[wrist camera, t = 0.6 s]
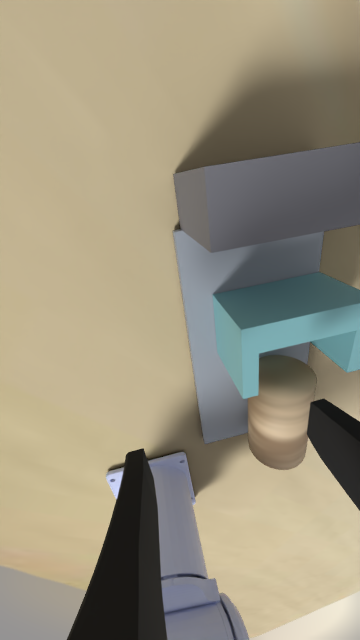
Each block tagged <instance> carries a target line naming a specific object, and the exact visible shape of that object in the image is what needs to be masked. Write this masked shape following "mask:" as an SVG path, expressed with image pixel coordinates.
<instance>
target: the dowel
mask: <svg viewBox="0 0 360 640" xmlns="http://www.w3.org/2000/svg"><path fill="white" fill-rule="evenodd" d="M316 383H317V378H316V375H315V373H314V371H313V370H312V369H311V368H310V367H309V366H308V365H307V364H305V363H304V362H302V361H300V360H298V359H295V358H293V357H289V356H283V355H269V356H264V357H261V358H259V392H258V396H254V397H250V398H248V442H249V447H250V450H251V452H252V453H253V455H254V456H255V457H256V458H257V459H258V460H259V461H260V462H261V463H263V464H264V465H266V466H268V467H271V468H274V469H279V470H288V469H292V468H294V467H296V466H298V465H299V464H300V463H301V462H302V461H303V459H304V457H305V453H306V447H307V441H308V436H307V427H308V419H309V411H310V403H311V402H313V401H314V396H315V390H316Z"/></svg>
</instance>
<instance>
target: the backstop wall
mask: <svg viewBox="0 0 360 640" xmlns="http://www.w3.org/2000/svg"><path fill="white" fill-rule="evenodd" d="M173 177H174V184H175V192H176V199H177V207H178V214H179V222H180V229H181V230H182V231H184V232H185V233H186V234H187V235H189V236H190V237H191V238H192V239H194V240H195V241H196V242H198V243H199V244H200V245H201V246H203V247H204V248H205V249H206V250H208V251H209V252H210V253H215V252H220V251H225V250H230V249H235V248H241V247H246V246H251V245H256V244H261V243H267V242H272V241H277V240H282V239H287V238H293V237H298V236H303V235H308V234H313V233H319V232H324V231H329V230H334V229H339V228H345V227H350V226H355V225H360V142H359V143H353V144H346V145H340V146H334V147H327V148H321V149H314V150H308V151H302V152H295V153H289V154H283V155H276V156H270V157H264V158H257V159H251V160H245V161H238V162H232V163H225V164H219V165H213V166H206V167H201V168H197V169H193V170H188V171H184V172H180V173H175V174H173Z"/></svg>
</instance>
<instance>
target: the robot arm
mask: <svg viewBox="0 0 360 640" xmlns="http://www.w3.org/2000/svg"><path fill="white" fill-rule="evenodd" d="M307 436H308V437H309V439H310V441H311V443H312V444H313V446H314V448H315V449H316V451H317V453H318V454H319V456H320V458H321V459H322V460H323V462H324V463H325V465H326V466H327V467H328V469H329V470H330V471H331V473H332V474H333V475H334V477H335V478H336V480H337V481H338V482H339V484H340V485H341V486H342V488H343V489H344V490H345V492H346V493H347V494H348V496H349V497H350V498H351V500H352V501H353V502H354V504H355V505H356V506H357V508H358V509H359V510H360V422H359V421H358V420H356V419H355V418H353V417H352V416H350V415H348V414H347V413H345V412H344V411H342V410H341V409H339V408H338V407H336V406H335V405H333V404H332V403H330V402H328V401H327V400H325V399H320V400H317V401H313V402H311V403H310V411H309V419H308V427H307ZM106 479H107V481H108V483H109V485H110V487H111V490H112V492H113V494H114V496H115V498H116V504H115V507H114V511H113V515H112V518H111V522H110V525H109V528H108V531H107V534H106V537H105V541H104V544H103V547H102V550H101V553H100V556H99V559H98V562H97V565H96V567H95V570H94V573H93V576H92V578H91V581H90V584H89V586H88V589H87V592H86V594H85V597H84V599H83V602H82V604H81V607H80V609H79V612H78V614H77V617H76V619H75V621H74V624H73V626H72V629H71V631H70V634H69V636H68V638H67V640H249V637H248V633H247V630H246V628H245V625H244V622H243V620H242V617H241V615H240V613H239V611H238V610H237V608H236V606H235V605H234V604H233V603H232V602H231V600H230V599H229V597H228V596H227V595H226V594H224V593H219V591H218V587H217V583H216V579H215V578H214V579H208V575H207V570H206V565H205V561H204V556H203V551H202V547H201V542H200V537H199V533H198V528H197V523H196V519H195V514H194V509H193V505H194V504H195V502H196V501H195V496H194V491H193V487H192V482H191V477H190V472H189V467H188V462H187V458H186V454H185V453H184V452H179V453H175V454H171V455H168V456H164V457H160V458H156V459H153V460H149V461H148V460H147V457H146V454H145V452H144V449H139V450H135V451H132V452H128V453H127V455H126V459H125V465H124V467H123V468H119V469H115V470H112V471H109V472H107V474H106Z"/></svg>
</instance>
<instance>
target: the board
mask: <svg viewBox="0 0 360 640" xmlns="http://www.w3.org/2000/svg"><path fill="white" fill-rule="evenodd" d="M323 236H324V232H319V233H313V234H308V235H303V236H298V237H293V238H287V239H282V240H277V241H272V242H267V243H261V244H256V245H251V246H246V247H241V248H235V249H230V250H225V251H220V252H215V253H210V252H209V251H208V250H206V249H205V248H204V247H203V246H201V245H200V244H199V243H198V242H196V241H195V240H194V239H192V238H191V237H190V236H189V235H187V234H186V233H185V232H184V231H182V230H181V229H178V230H173V237H174V244H175V250H176V257H177V264H178V271H179V278H180V284H181V291H182V298H183V305H184V312H185V318H186V325H187V332H188V339H189V345H190V352H191V359H192V366H193V373H194V379H195V386H196V393H197V400H198V407H199V413H200V420H201V427H202V434H203V440H204V443H205V444H208V443H211V442H215V441H219V440H223V439H226V438H230V437H234V436H237V435H241V434H245V433H248V398H246V399H243V398H242V396H241V395H240V393H239V391H238V389H237V387H236V386H235V384H234V382H233V380H232V378H231V377H230V375H229V373H228V371H227V369H226V368H225V366H224V364H223V362H222V360H221V358H220V357H219V355H218V353H217V342H216V330H215V319H214V307H213V295H212V294H217V293H222V292H227V291H231V290H236V289H241V288H246V287H250V286H255V285H260V284H265V283H270V282H274V281H279V280H284V279H289V278H294V277H298V276H303V275H308V274H313V273H317V272H319V268H320V260H321V252H322V244H323ZM309 346H310V342H305V343H301V344H297V345H293V346H289V347H284V348H280V349H276V350H272V351H268V352H263V353H259V358H261V357H264V356H269V355H283V356H289V357H293V358H295V359H298V360H300V361H302V362H304V363H305V364H307V362H308V354H309Z"/></svg>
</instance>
